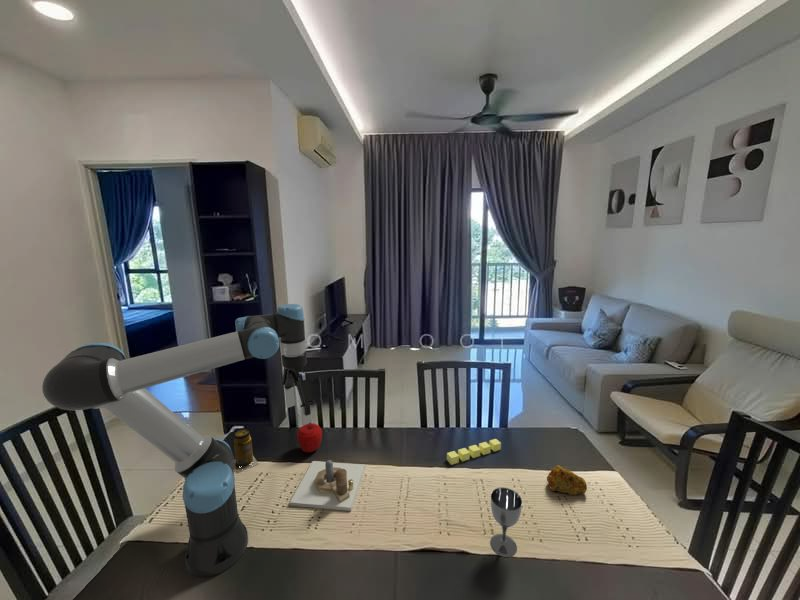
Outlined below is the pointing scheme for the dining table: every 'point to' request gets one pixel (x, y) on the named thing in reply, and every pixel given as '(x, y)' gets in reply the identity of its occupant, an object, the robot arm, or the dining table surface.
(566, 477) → the brown lumpy piece
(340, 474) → the tan nut with handle
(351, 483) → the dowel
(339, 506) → the board
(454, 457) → the yellow cube row
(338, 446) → the dining table surface
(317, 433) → the apple
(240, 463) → the condiment
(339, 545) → the dining table surface
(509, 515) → the wine glass
